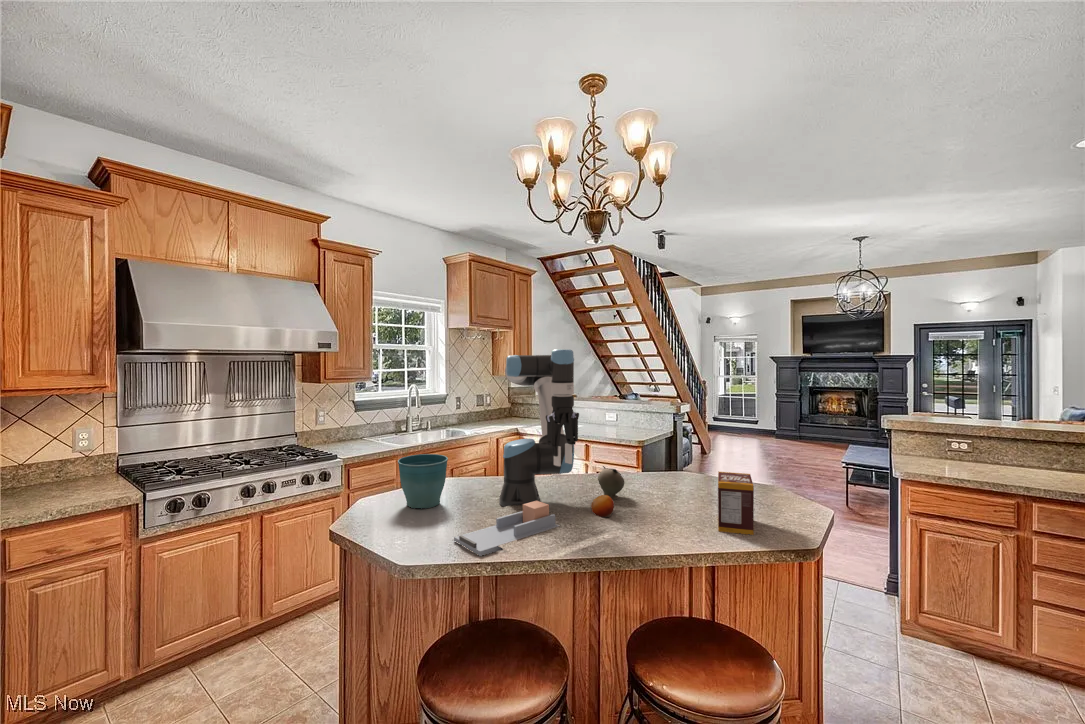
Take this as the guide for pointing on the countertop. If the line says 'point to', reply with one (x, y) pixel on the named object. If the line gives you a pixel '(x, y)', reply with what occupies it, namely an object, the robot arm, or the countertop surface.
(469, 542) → the chute
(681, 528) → the countertop surface
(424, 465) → the flower pot
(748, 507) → the supplement box
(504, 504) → the robot arm
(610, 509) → the fruit
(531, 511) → the block
